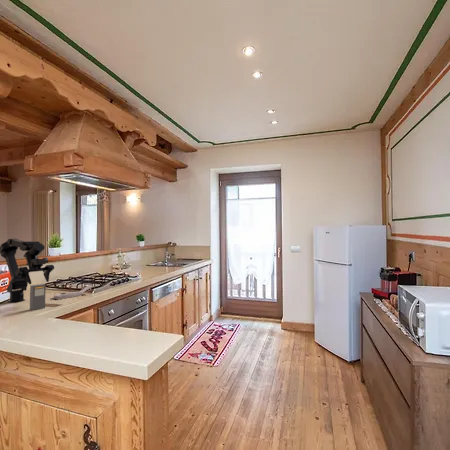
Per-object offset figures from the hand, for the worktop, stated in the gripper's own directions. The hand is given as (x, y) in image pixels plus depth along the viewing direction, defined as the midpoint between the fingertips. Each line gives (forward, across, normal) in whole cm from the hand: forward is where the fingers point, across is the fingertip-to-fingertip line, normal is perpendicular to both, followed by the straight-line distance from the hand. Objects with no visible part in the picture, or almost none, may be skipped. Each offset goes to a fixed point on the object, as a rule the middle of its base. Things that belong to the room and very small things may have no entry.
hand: (39, 282), depth 156 cm
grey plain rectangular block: (+15, -4, +1) cm, 16 cm away
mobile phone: (+8, +24, +13) cm, 29 cm away
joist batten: (+14, +3, +2) cm, 14 cm away
